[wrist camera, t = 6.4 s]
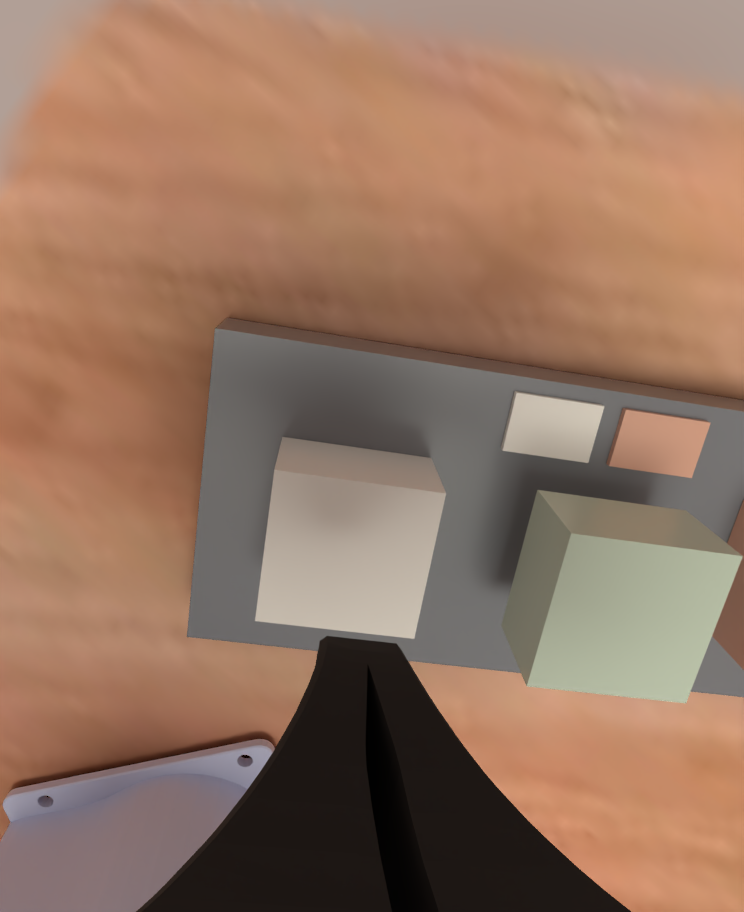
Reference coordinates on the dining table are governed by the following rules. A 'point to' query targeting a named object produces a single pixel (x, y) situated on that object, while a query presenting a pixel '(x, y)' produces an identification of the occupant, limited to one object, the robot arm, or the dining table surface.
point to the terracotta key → (734, 601)
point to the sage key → (616, 597)
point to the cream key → (349, 538)
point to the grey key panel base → (446, 472)
